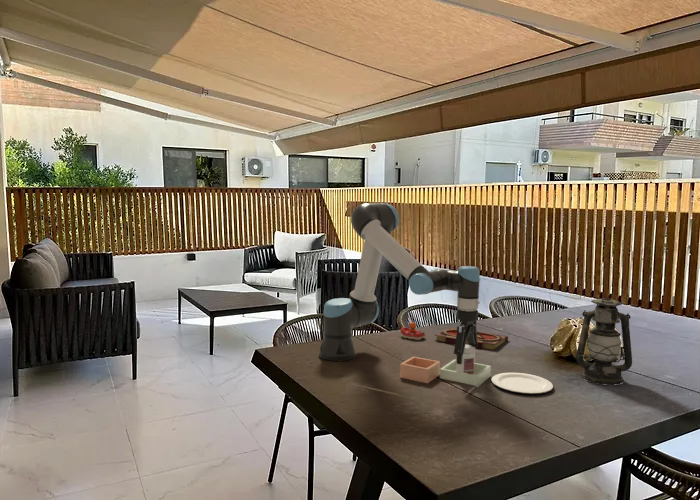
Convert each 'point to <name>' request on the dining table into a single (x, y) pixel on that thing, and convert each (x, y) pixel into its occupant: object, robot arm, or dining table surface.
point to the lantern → (604, 343)
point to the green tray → (466, 374)
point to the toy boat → (412, 332)
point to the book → (483, 339)
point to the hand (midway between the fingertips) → (465, 367)
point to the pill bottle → (468, 359)
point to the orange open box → (420, 369)
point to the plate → (522, 383)
